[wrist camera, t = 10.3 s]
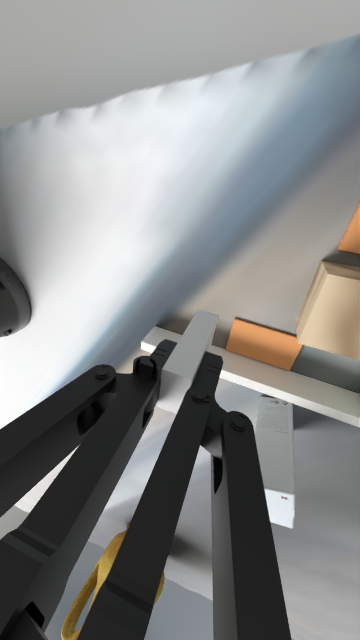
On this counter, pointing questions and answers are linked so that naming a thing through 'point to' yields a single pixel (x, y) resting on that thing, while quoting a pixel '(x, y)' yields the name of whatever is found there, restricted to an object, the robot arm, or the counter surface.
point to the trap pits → (273, 343)
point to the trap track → (276, 381)
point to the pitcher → (96, 579)
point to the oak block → (332, 311)
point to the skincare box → (277, 458)
